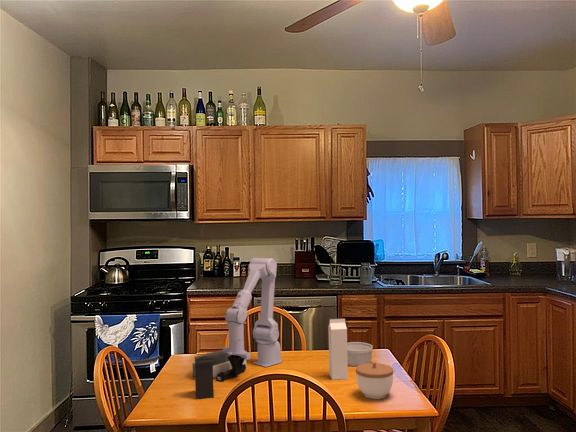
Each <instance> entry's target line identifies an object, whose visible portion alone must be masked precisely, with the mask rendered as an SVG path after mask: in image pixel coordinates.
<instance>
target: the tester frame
mask: <svg viewBox="0 0 576 432" xmlns="http://www.w3.org/2000/svg"><path fill="white" fill-rule="evenodd" d="M228 356H230V355H228V354H227V353H223V349H220V350H215V351H212V352H208V353H205V354H201V355H196V356H194V361H192V362H191V363H192V365H191V366H192V378H195V360H201V359H212V360H213V366H214V365H217V364H221V363H225V362H228V361H229V360H228Z"/></svg>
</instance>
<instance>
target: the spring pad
mask: <svg viewBox="0 0 576 432" xmlns="http://www.w3.org/2000/svg"><path fill="white" fill-rule="evenodd" d="M243 364H245V365H246V366H247V360H246V359H245V360H244V362H243ZM230 369H232V366H231V363H230V361H228V362H225V363H221V364H217V365H214V366H213V379H214V378H216V377H217V375H218V374H219V373H221V372H225V371H228V370H230Z"/></svg>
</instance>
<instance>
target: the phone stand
mask: <svg viewBox="0 0 576 432" xmlns="http://www.w3.org/2000/svg"><path fill="white" fill-rule="evenodd" d="M194 362H195V379H194V380H195V384H194V386H195V400H202V399H203V400H204V399H213V398H215V397H214V394H215V392H214V378H213V360H212V359H201V360H195V359H194Z"/></svg>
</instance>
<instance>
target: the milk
mask: <svg viewBox="0 0 576 432" xmlns="http://www.w3.org/2000/svg"><path fill="white" fill-rule="evenodd" d="M327 327H328V329H327V330H328V367H329V368H328V369H329V371H328V372H329V373H328V374H329V376H330V379H331V380H332V381H335V380H338V379H340V380H348V379H349V371H348V370H349V369H348V367H349V365H348V362H347V343H348V327H347V324H346V318H335V319H334V318H330V319H329V324H328V325H327Z"/></svg>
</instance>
